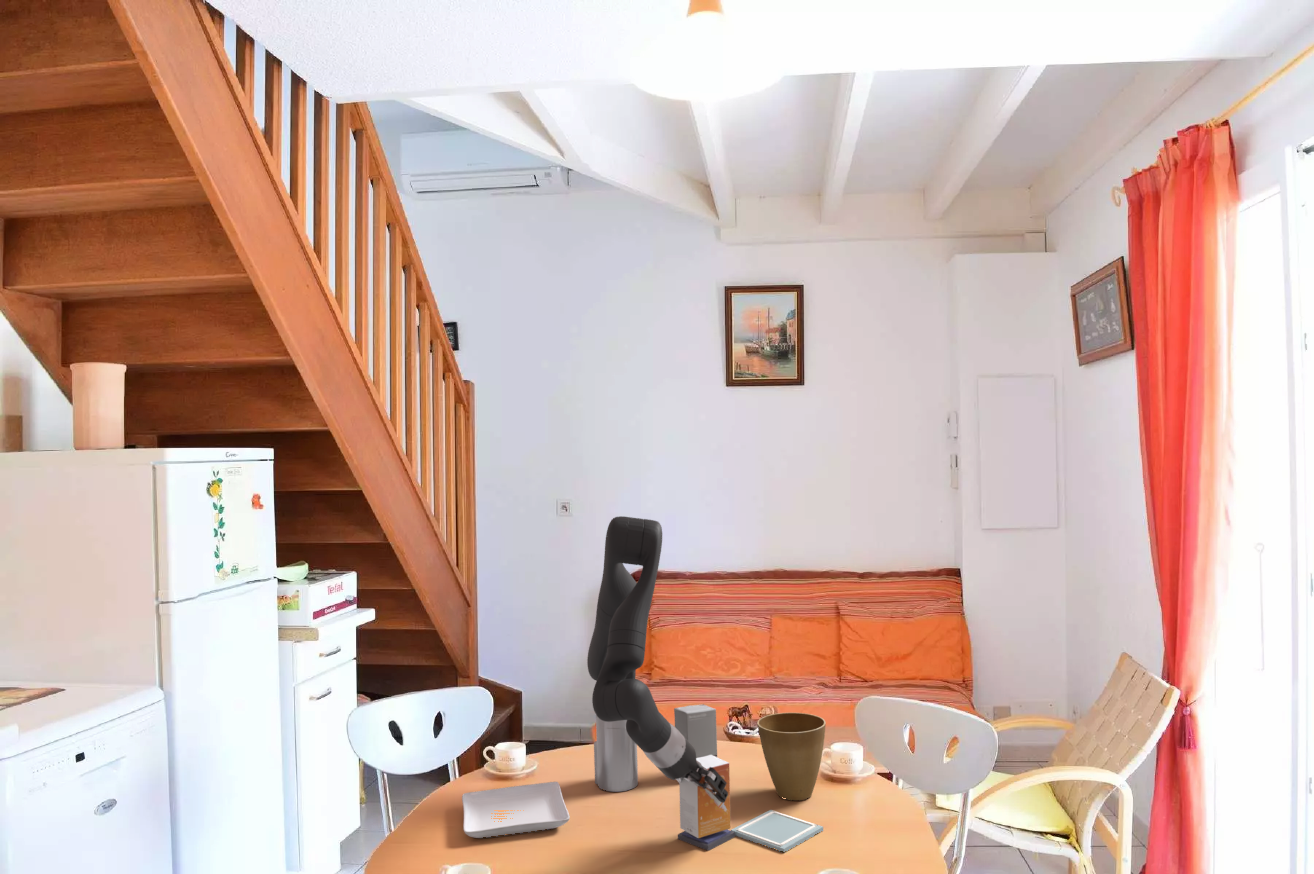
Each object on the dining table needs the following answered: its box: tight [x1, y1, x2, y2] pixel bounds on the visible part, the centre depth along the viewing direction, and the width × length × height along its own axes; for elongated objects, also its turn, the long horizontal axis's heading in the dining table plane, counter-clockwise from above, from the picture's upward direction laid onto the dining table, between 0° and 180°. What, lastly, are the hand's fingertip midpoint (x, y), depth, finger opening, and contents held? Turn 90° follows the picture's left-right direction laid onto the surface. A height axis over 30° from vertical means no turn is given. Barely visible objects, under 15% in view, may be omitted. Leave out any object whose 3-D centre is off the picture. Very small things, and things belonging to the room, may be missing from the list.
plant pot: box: [756, 712, 827, 801], centre depth 198 cm, size 15×15×16 cm
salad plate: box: [461, 781, 571, 839], centre depth 190 cm, size 21×21×3 cm
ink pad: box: [677, 829, 736, 851], centre depth 177 cm, size 8×8×1 cm
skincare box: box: [673, 703, 718, 758], centre depth 211 cm, size 8×7×16 cm
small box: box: [678, 755, 731, 838], centre depth 177 cm, size 8×6×13 cm
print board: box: [730, 809, 824, 853], centre depth 179 cm, size 13×13×1 cm
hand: (709, 793), depth 178 cm, fingers closed on small box, 7 cm apart
